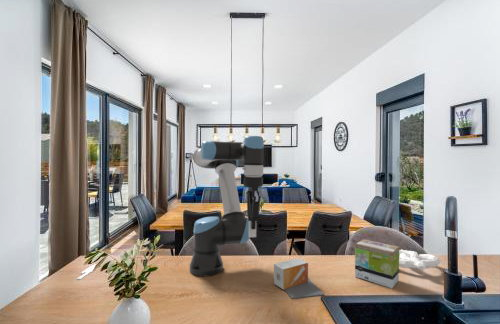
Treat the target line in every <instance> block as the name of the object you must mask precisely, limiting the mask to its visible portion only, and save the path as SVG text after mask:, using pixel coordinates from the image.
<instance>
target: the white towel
mask: <svg viewBox="0 0 500 324" xmlns="http://www.w3.org/2000/svg"><path fill="white" fill-rule="evenodd" d="M440 263H441V260H440V258H439V257H437V256H436V255H433V254H430V253H428V254H427V253H419V254H418V252H417V251H414V250H413V251H412V250H408V249H406V250H404V248H403V249H402V248H401V249H399V268H406V269H408V268H409V269H419V270H421V271H424V270H426V269H428V268H436V267H437V266H438V265H440Z"/></svg>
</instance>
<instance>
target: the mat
mask: <svg viewBox="0 0 500 324" xmlns="http://www.w3.org/2000/svg"><path fill="white" fill-rule="evenodd" d="M284 291H285V292H286V294H287V295H288V296H289V298H290V299H301V298H302V299H303V298H309V297H310V298H311V297H318V296H325V293H324V292H323V291H322V290H321V289H320V288H319V287H318V286H317V285H316V284H315V283H314V282H313V281H312V280H311V279H310V278H309V277H308V282H306V283H303V284H300V285H296V286H293V287H290V288H287V289H284Z"/></svg>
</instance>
